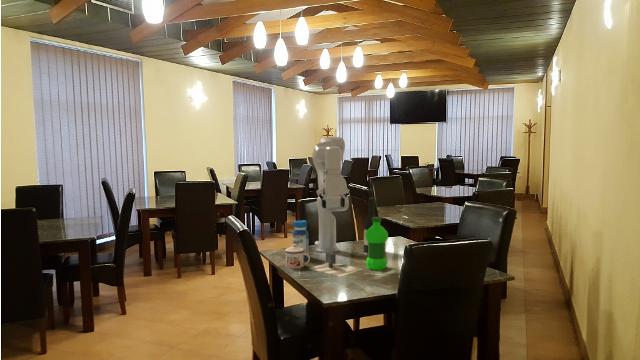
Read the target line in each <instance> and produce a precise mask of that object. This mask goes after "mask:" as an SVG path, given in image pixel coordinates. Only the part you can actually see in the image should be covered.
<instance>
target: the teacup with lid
mask: <svg viewBox="0 0 640 360" xmlns="http://www.w3.org/2000/svg"><path fill="white" fill-rule="evenodd" d="M284 253H285V267H286V268H288V269H300V268H303V267H304V266H305V265H306V264H308V263H309V262H310V261H311V255H308V254H306V253H304V249H303V248H300V247H298V246H297V245H296V244H293V243H292V245H291V246H290V247H287V248H286V249H285V250H284ZM304 255H307V256H308V258H307V260H306V261H304V260H305V259H304Z"/></svg>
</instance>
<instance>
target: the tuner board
mask: <svg viewBox="0 0 640 360" xmlns="http://www.w3.org/2000/svg"><path fill="white" fill-rule="evenodd" d="M335 265H343V263H342V264H341V263H337V262H336V264H333V266H335ZM307 269H309V270H313V271H317V272H320V273H325V274H329V275H333V276H337V277H343V276H347V275H350V274H353V273H355V272H358V271H363V268H361V267H356V266H355V267H354V266H351V265H348V264H347V265H346V266H337V267H333V268H329V263H328V262H325V263H322V264H319V265H315V266H312V267H308V268H307Z"/></svg>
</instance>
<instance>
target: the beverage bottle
mask: <svg viewBox="0 0 640 360" xmlns="http://www.w3.org/2000/svg"><path fill="white" fill-rule="evenodd" d="M307 227H308V221H307V220H305V219H301V220H300V219H298V220H294V221H293V228H294V230H293V232H292V237H291V238H292V239H291V240H292V245H293V244H296V245H297V246H298V247H300V248H303V249H304V253H306V254H308V255H309V250H310V249H309V240H310V239H309V231H308V229H307ZM309 256H310V255H309ZM306 259H308V256H307V255H304V260H306Z"/></svg>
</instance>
